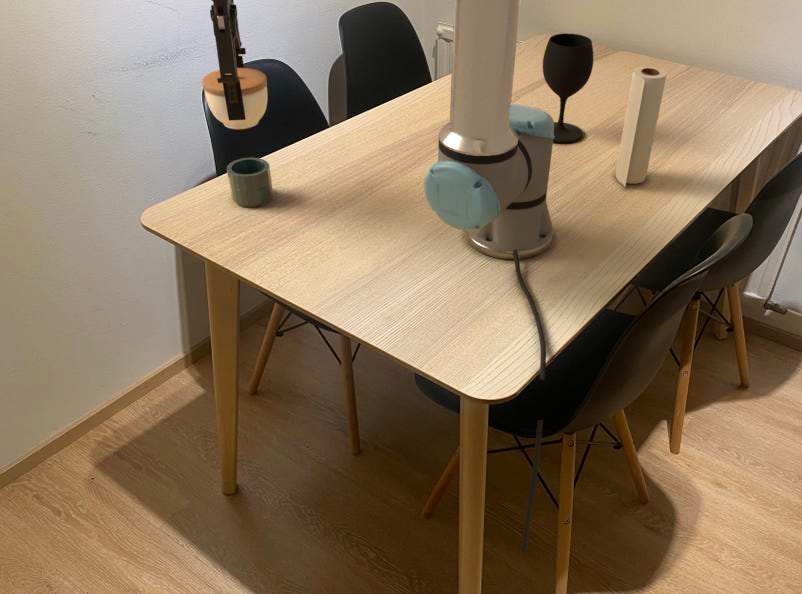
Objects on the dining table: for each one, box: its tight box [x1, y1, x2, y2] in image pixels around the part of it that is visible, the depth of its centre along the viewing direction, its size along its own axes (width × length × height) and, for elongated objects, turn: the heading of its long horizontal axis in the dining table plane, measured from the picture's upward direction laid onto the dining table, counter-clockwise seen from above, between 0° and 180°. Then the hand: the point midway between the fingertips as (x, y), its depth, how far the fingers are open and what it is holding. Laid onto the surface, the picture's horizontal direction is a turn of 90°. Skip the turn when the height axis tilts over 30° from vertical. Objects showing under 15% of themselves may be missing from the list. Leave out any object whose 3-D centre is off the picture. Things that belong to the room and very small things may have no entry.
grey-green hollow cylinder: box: [226, 157, 274, 208], centre depth 143 cm, size 8×8×6 cm
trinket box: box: [201, 67, 269, 130], centre depth 132 cm, size 11×11×9 cm
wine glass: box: [542, 33, 594, 144], centre depth 164 cm, size 10×10×20 cm
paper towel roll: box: [615, 66, 667, 188], centre depth 148 cm, size 7×6×21 cm
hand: (238, 106), depth 134 cm, fingers closed on trinket box, 11 cm apart
